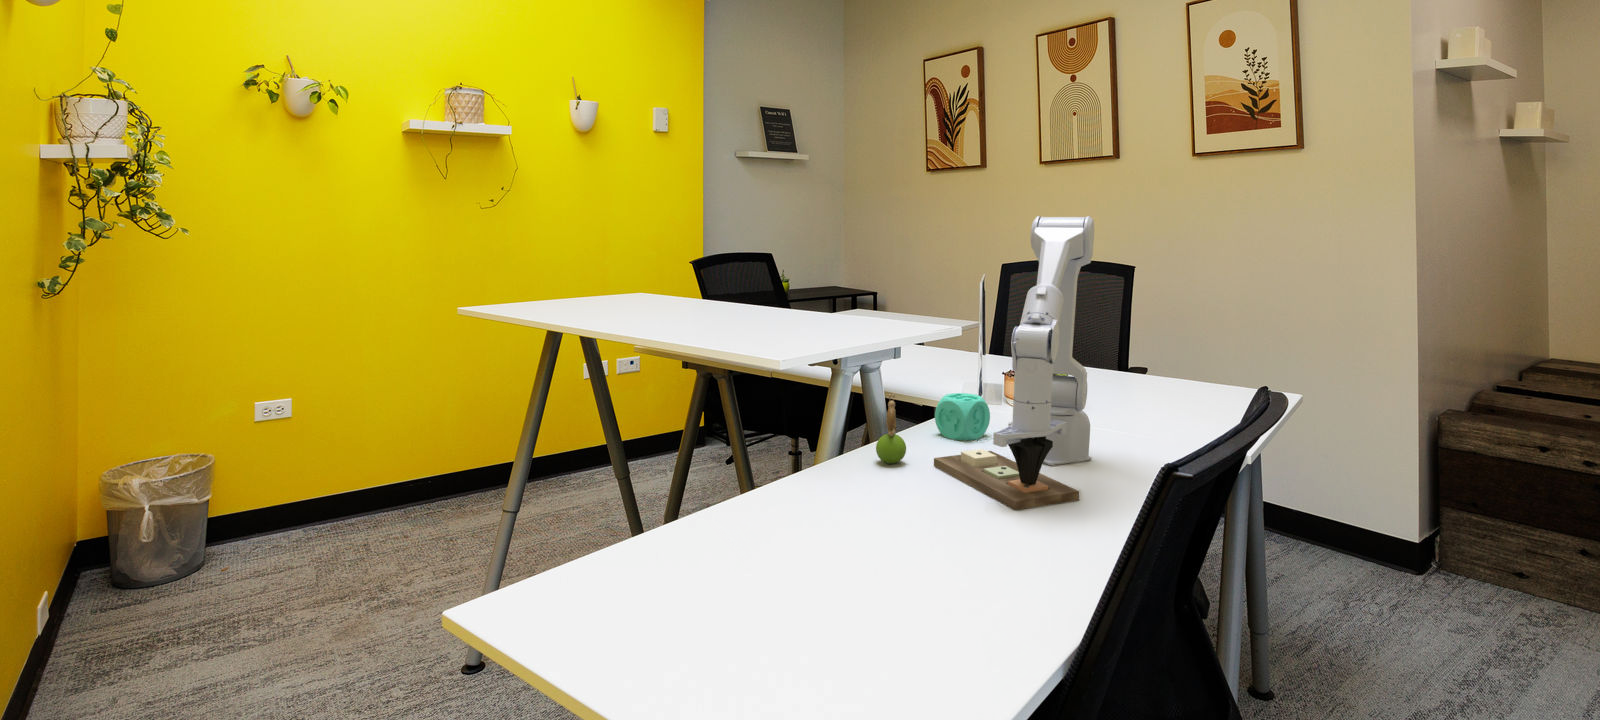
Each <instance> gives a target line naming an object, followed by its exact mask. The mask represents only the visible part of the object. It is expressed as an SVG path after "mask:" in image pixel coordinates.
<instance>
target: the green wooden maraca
mask: <svg viewBox="0 0 1600 720" xmlns="http://www.w3.org/2000/svg"><path fill="white" fill-rule="evenodd" d="M887 397H889V398H891V397H892V398H893V399H892V400H889V401H888V403H887V406H888V407H887V408H888V409H887V412H886V429H887V433H886V434H884V435H882V436H880V437H879V439H878V440H877V441H876V444H875V445H876V446H875V452H876V455H877V457H878V458H879V459H880V460H881V461H882V462H884V463H885V464H889V465H891V464H897V463H899V462H901V461H902V459H904V457H905V455H906V453H907V445H906V442H905V440H904V439H903V437H901V436H900V434H899V435H898V434H896V430H897V417H896V416H897V415H896V409H895V407H896V402H895V400H894V398H895V397H896V395H895V394H894V393H893V394H891V393H890V394H888V396H887Z"/></svg>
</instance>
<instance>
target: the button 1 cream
mask: <svg viewBox="0 0 1600 720" xmlns="http://www.w3.org/2000/svg"><path fill="white" fill-rule="evenodd" d="M987 451H988V450H985V449H983V448H981V449H973V450H971V449H970V450H966V451H965V450H964V451H960V455H961V461H962V462H964V463H966V464H968V465H970V466H972V467H974V468H975V467H983V466H991V465H996V462H997V456H996V455H994V454H992V453H990V452H987Z"/></svg>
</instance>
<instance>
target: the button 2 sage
mask: <svg viewBox="0 0 1600 720" xmlns="http://www.w3.org/2000/svg"><path fill="white" fill-rule="evenodd" d="M983 472H984V473H986V474H988V475H990V476H992V477H994V478H996V479H998V480H1000V479H1007V478H1014V477H1020V476H1019V472H1018V471H1016V470H1014V469H1011V468H1009V467H1007V466H999V467H992V468H984V470H983Z"/></svg>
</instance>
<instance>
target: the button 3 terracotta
mask: <svg viewBox="0 0 1600 720" xmlns="http://www.w3.org/2000/svg"><path fill="white" fill-rule="evenodd" d="M1008 485H1010V486H1012V487H1014V488H1016V489H1018V490H1020V491H1022V492H1024V493H1028V492H1035V491H1041V490H1048V486H1047V485H1045V484H1043V483H1041V482H1039V481H1036V484H1034V485H1027V484H1024V483H1021V481H1020V479H1019V480H1012V481H1008Z"/></svg>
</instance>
